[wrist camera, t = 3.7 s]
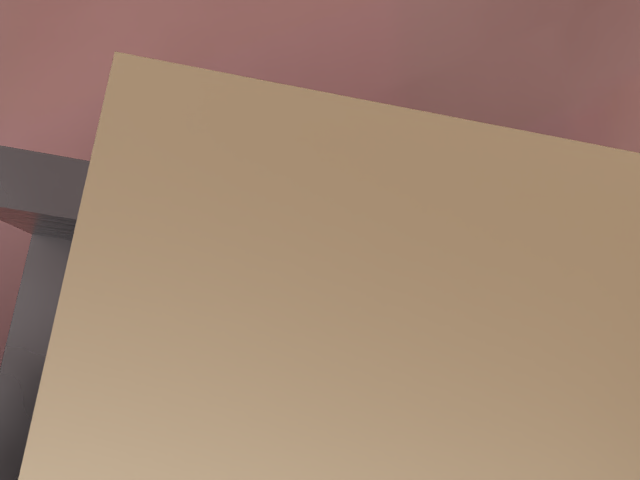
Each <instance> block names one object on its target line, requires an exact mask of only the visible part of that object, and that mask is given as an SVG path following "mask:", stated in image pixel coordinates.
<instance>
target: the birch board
mask: <svg viewBox="0 0 640 480" xmlns="http://www.w3.org/2000/svg"><path fill="white" fill-rule="evenodd" d="M18 480H640V153H637V152H632V151H626V150H621V149H616V148H611V147H606V146H601V145H595V144H590V143H585V142H580V141H575V140H570V139H564V138H559V137H554V136H549V135H544V134H539V133H533V132H528V131H523V130H518V129H513V128H508V127H502V126H497V125H492V124H487V123H482V122H477V121H471V120H466V119H461V118H456V117H451V116H446V115H440V114H435V113H430V112H425V111H420V110H414V109H409V108H404V107H399V106H394V105H389V104H383V103H378V102H373V101H368V100H363V99H358V98H352V97H347V96H342V95H337V94H332V93H327V92H321V91H316V90H311V89H306V88H301V87H296V86H290V85H285V84H280V83H275V82H270V81H265V80H259V79H254V78H249V77H244V76H239V75H234V74H228V73H223V72H218V71H213V70H208V69H203V68H197V67H192V66H187V65H182V64H177V63H171V62H166V61H161V60H156V59H151V58H146V57H140V56H135V55H130V54H125V53H120V52H115V53H114V57H113V62H112V66H111V71H110V75H109V79H108V84H107V88H106V93H105V97H104V102H103V106H102V111H101V115H100V119H99V124H98V128H97V133H96V137H95V142H94V146H93V150H92V155H91V159H90V164H89V168H88V173H87V177H86V181H85V186H84V190H83V195H82V199H81V204H80V208H79V212H78V217H77V221H76V226H75V230H74V235H73V239H72V243H71V248H70V252H69V257H68V261H67V266H66V270H65V274H64V279H63V283H62V288H61V292H60V297H59V301H58V305H57V310H56V314H55V319H54V323H53V328H52V332H51V337H50V341H49V345H48V350H47V354H46V359H45V363H44V368H43V372H42V376H41V381H40V385H39V390H38V394H37V399H36V403H35V407H34V412H33V416H32V421H31V425H30V430H29V434H28V438H27V443H26V447H25V452H24V456H23V461H22V465H21V469H20V474H19V478H18Z"/></svg>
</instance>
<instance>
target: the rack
mask: <svg viewBox="0 0 640 480" xmlns="http://www.w3.org/2000/svg"><path fill="white" fill-rule="evenodd" d="M89 164H90V161H85V160H80V159H74V158H68V157H62V156H57V155H51V154H45V153H40V152H34V151H28V150H23V149H17V148H11V147H6V146H0V220H2V221H4V222H6V223H8V224H10V225H13V226H15V227H17V228H19V229H22V230H24V231H26V232H28V233H31V234H32V238H31V242H30V246H29V250H28V254H27V259H26V263H25V267H24V271H23V275H22V280H21V284H20V288H19V292H18V296H17V301H16V305H15V309H14V313H13V317H12V322H11V326H10V330H9V334H8V339H7V343H6V347H5V351H4V355H3V360H2V364H1V368H0V480H18V478H19V474H20V469H21V465H22V461H23V456H24V452H25V447H26V443H27V438H28V434H29V430H30V425H31V421H32V416H33V412H34V407H35V403H36V399H37V394H38V390H39V385H40V381H41V376H42V372H43V368H44V363H45V359H46V354H47V350H48V345H49V341H50V337H51V332H52V328H53V323H54V319H55V314H56V310H57V305H58V301H59V297H60V292H61V288H62V283H63V279H64V274H65V270H66V266H67V261H68V257H69V252H70V248H71V243H72V239H73V235H74V230H75V226H76V221H77V217H78V212H79V208H80V204H81V199H82V195H83V190H84V186H85V181H86V177H87V173H88V168H89Z"/></svg>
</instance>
